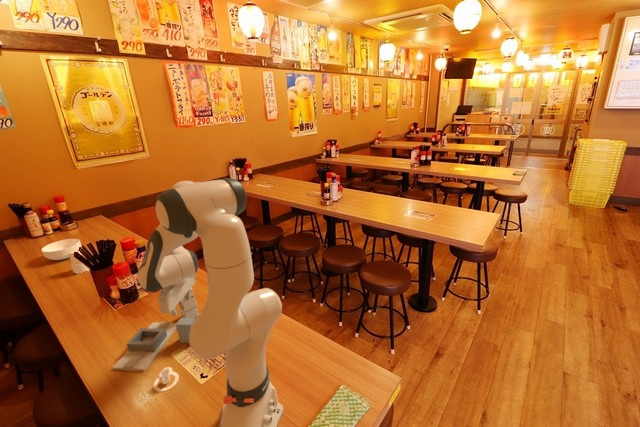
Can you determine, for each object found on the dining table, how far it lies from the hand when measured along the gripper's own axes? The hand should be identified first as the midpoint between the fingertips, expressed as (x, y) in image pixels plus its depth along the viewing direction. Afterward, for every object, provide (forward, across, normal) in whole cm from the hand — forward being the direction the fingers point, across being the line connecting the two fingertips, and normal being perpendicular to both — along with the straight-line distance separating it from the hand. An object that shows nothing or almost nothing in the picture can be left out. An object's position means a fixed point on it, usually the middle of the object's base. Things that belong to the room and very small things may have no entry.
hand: (182, 307), depth 117 cm
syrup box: (+16, +14, +6) cm, 22 cm away
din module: (+16, 0, 0) cm, 16 cm away
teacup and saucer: (+16, -18, -4) cm, 24 cm away
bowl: (+18, +69, +122) cm, 141 cm away
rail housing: (+16, -4, +14) cm, 22 cm away
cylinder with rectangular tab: (+18, +52, +94) cm, 108 cm away
